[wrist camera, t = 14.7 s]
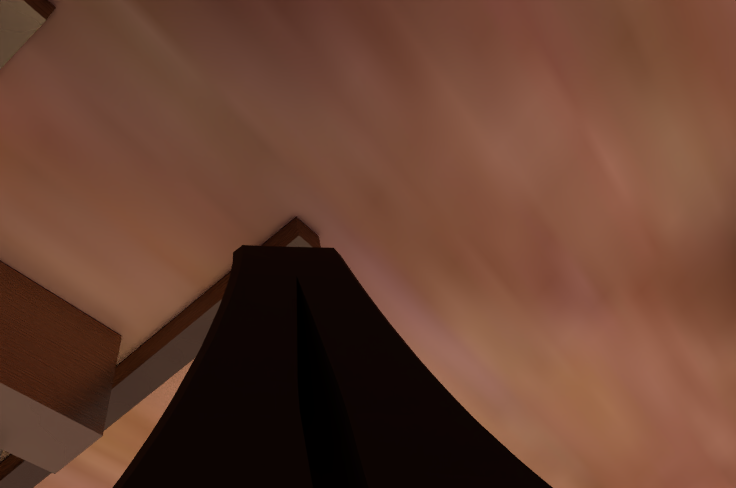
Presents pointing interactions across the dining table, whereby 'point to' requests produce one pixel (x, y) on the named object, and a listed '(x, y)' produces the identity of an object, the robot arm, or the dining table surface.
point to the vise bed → (173, 342)
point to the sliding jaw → (51, 374)
